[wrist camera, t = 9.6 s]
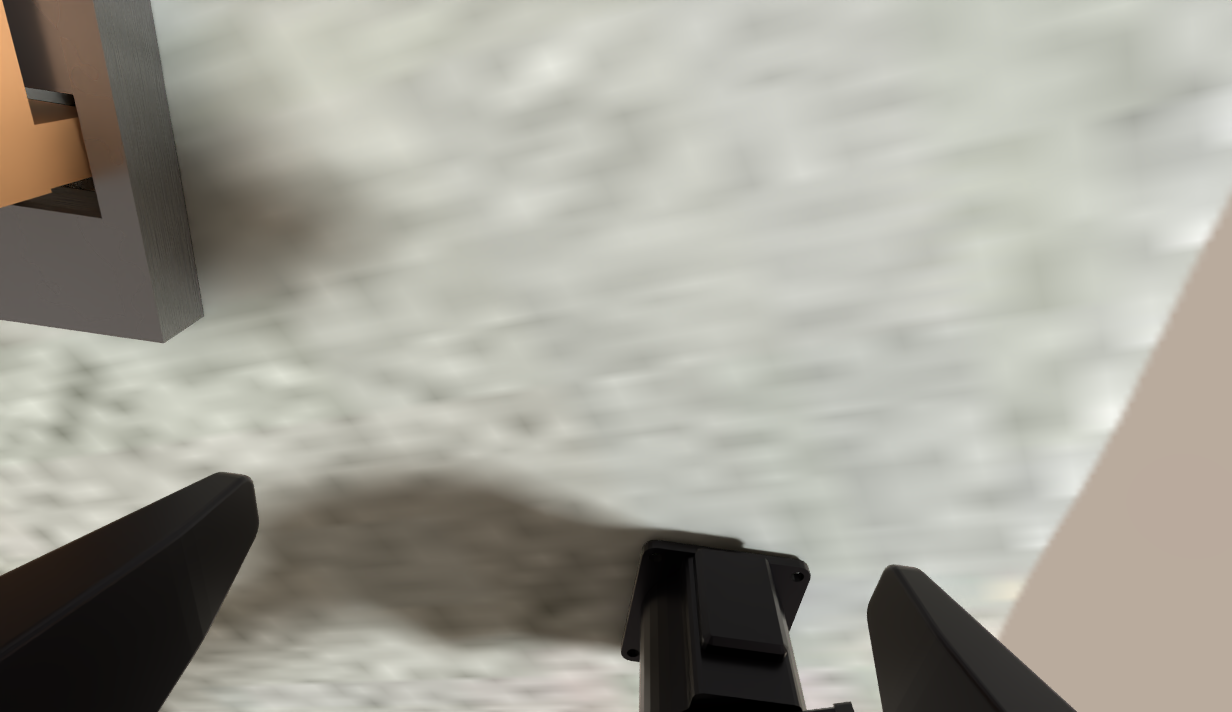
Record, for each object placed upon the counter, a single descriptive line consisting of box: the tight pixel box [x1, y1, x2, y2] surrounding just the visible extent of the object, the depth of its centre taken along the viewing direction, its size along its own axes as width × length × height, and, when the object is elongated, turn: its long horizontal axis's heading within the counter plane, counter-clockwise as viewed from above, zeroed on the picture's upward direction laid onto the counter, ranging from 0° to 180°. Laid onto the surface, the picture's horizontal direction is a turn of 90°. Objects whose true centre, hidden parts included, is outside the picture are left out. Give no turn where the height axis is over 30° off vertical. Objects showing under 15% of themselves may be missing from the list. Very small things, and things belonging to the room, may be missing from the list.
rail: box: [0, 0, 204, 343], centre depth 17 cm, size 16×6×2 cm, turn 172°
